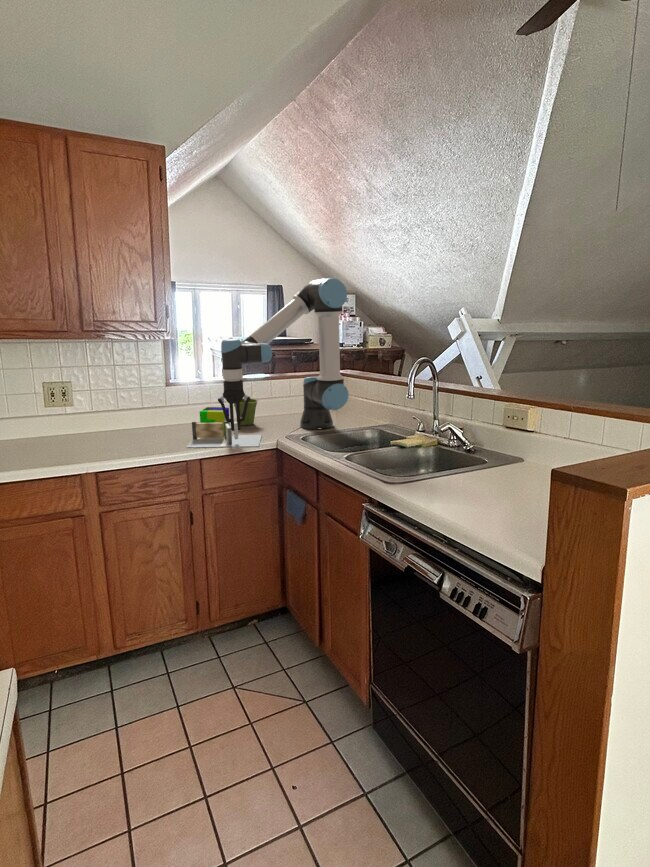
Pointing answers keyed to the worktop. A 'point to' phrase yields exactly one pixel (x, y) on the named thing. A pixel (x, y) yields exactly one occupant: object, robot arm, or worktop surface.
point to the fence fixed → (208, 430)
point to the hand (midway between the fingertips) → (236, 438)
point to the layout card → (226, 442)
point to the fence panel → (228, 434)
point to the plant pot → (248, 411)
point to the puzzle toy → (213, 415)
